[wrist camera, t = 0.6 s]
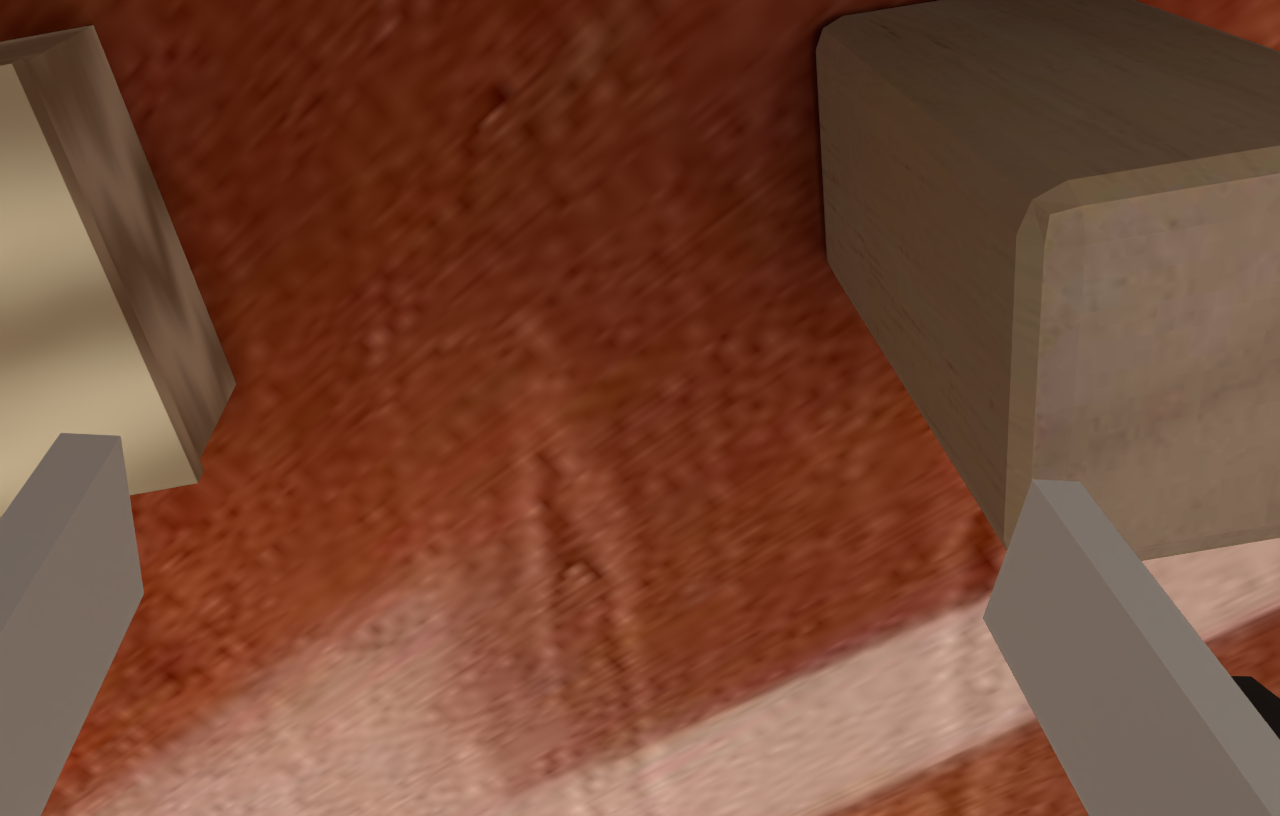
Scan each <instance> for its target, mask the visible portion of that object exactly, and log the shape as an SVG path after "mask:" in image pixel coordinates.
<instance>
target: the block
mask: <svg viewBox="0 0 1280 816" xmlns="http://www.w3.org/2000/svg"><path fill="white" fill-rule="evenodd" d="M816 65H817V83H818V102H819V120H820V139H821V157H822V176H823V194H824V213H825V231H826V250H827V262H828V263H829V265H830V267H831V269H832V271H833V273H834V275H835V276H836V278H837V280H838V281H839V283H840V284H841V286H842V288H843V289H844V291H845V292H846V294H847V296H848V297H849V299H850V300H851V302H852V304H853V305H854V307H855V308H856V310H857V312H858V313H859V315H860V316H861V318H862V320H863V321H864V323H865V324H866V326H867V328H868V329H869V331H870V332H871V334H872V335H873V337H874V339H875V340H876V342H877V343H878V345H879V347H880V348H881V350H882V351H883V353H884V355H885V356H886V358H887V359H888V361H889V363H890V364H891V366H892V367H893V369H894V371H895V372H896V374H897V375H898V377H899V379H900V380H901V382H902V383H903V385H904V387H905V388H906V390H907V391H908V393H909V395H910V396H911V398H912V399H913V401H914V403H915V404H916V406H917V407H918V409H919V411H920V412H921V414H922V415H923V417H924V419H925V420H926V422H927V423H928V425H929V427H930V428H931V430H932V431H933V433H934V435H935V436H936V438H937V439H938V441H939V443H940V444H941V446H942V447H943V449H944V451H945V452H946V454H947V455H948V457H949V458H950V460H951V462H952V463H953V465H954V466H955V468H956V470H957V471H958V473H959V474H960V476H961V478H962V479H963V481H964V482H965V484H966V486H967V487H968V489H969V490H970V492H971V494H972V495H973V497H974V498H975V500H976V502H977V503H978V505H979V506H980V508H981V510H982V511H983V513H984V514H985V516H986V518H987V519H988V521H989V522H990V524H991V526H992V527H993V529H994V530H995V532H996V534H997V535H998V537H999V538H1000V540H1001V542H1002V543H1003V545H1004V546H1005V548H1006V550H1007V549H1008V546H1009V544H1010V541H1011V538H1012V535H1013V533H1014V530H1015V527H1016V524H1017V521H1018V519H1019V516H1020V513H1021V510H1022V507H1023V505H1024V502H1025V499H1026V496H1027V493H1028V491H1029V488H1030V485H1031V482H1032V479H1035V480H1056V481H1077V482H1080V483H1081V484H1082V485H1083V487H1084V488H1085V489H1086V490H1087V492H1088V493H1089V494H1090V496H1091V497H1092V498H1093V499H1094V501H1095V502H1096V503H1097V505H1098V506H1099V507H1100V509H1101V510H1102V511H1103V512H1104V514H1105V515H1106V516H1107V518H1108V519H1109V520H1110V521H1111V523H1112V524H1113V525H1114V527H1115V528H1116V529H1117V530H1118V532H1119V533H1120V534H1121V536H1122V537H1123V538H1124V539H1125V541H1126V542H1127V543H1128V545H1129V546H1130V547H1131V548H1132V550H1133V551H1134V552H1135V554H1136V555H1137V556H1138V558H1139V559H1140V560H1141V561H1143V560H1149V559H1155V558H1161V557H1167V556H1173V555H1179V554H1185V553H1191V552H1197V551H1203V550H1209V549H1215V548H1221V547H1227V546H1233V545H1239V544H1245V543H1251V542H1257V541H1263V540H1269V539H1275V538H1280V51H1277V50H1274V49H1271V48H1268V47H1266V46H1263V45H1260V44H1257V43H1254V42H1251V41H1249V40H1246V39H1243V38H1240V37H1237V36H1234V35H1232V34H1229V33H1226V32H1223V31H1220V30H1217V29H1215V28H1212V27H1209V26H1206V25H1203V24H1200V23H1198V22H1195V21H1192V20H1189V19H1186V18H1183V17H1181V16H1178V15H1175V14H1172V13H1169V12H1166V11H1164V10H1161V9H1158V8H1155V7H1152V6H1149V5H1147V4H1144V3H1141V2H1138V1H1135V0H938V1H932V2H926V3H920V4H914V5H908V6H901V7H895V8H889V9H883V10H877V11H871V12H865V13H859V14H852V15H846V16H842V17H840V18H839V19H837V20H835V21H834V22H832V23H831V24H829V25H827V26H826V27H824V28H823V29H822V33H821V36H820V39H819V42H818V45H817V48H816Z"/></svg>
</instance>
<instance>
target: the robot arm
mask: <svg viewBox="0 0 1280 816" xmlns="http://www.w3.org/2000/svg"><path fill="white" fill-rule="evenodd" d="M143 594H144V591H143V584H142V577H141V570H140V564H139V557H138V550H137V543H136V536H135V530H134V523H133V516H132V509H131V502H130V496H129V489H128V482H127V475H126V469H125V462H124V455H123V448H122V441H121V436H115V435H94V434H73V433H60V434H59V436H58V437H57V439H56V440H55V442H54V443H53V444H52V446H51V447H50V449H49V450H48V451H47V453H46V454H45V456H44V457H43V459H42V460H41V461H40V463H39V464H38V466H37V467H36V468H35V470H34V471H33V473H32V474H31V476H30V477H29V478H28V480H27V481H26V483H25V484H24V486H23V487H22V488H21V490H20V491H19V493H18V494H17V495H16V497H15V498H14V500H13V501H12V503H11V504H10V505H9V507H8V508H7V510H6V511H5V513H4V514H3V515H2V517H1V518H0V816H41V814H42V811H43V809H44V807H45V805H46V803H47V801H48V799H49V796H50V794H51V792H52V790H53V788H54V786H55V783H56V781H57V779H58V777H59V775H60V773H61V771H62V768H63V766H64V764H65V762H66V760H67V758H68V756H69V753H70V751H71V749H72V747H73V745H74V743H75V741H76V738H77V736H78V734H79V732H80V730H81V728H82V725H83V723H84V721H85V719H86V717H87V715H88V713H89V710H90V708H91V706H92V704H93V702H94V700H95V698H96V695H97V693H98V691H99V689H100V687H101V685H102V682H103V680H104V678H105V676H106V674H107V672H108V670H109V667H110V665H111V663H112V661H113V659H114V657H115V655H116V652H117V650H118V648H119V646H120V644H121V642H122V640H123V637H124V635H125V633H126V631H127V629H128V627H129V624H130V622H131V620H132V618H133V616H134V614H135V612H136V609H137V607H138V605H139V603H140V601H141V599H142V597H143ZM983 619H984V621H985V623H986V625H987V627H988V628H989V630H990V632H991V634H992V636H993V638H994V640H995V641H996V643H997V645H998V647H999V649H1000V651H1001V653H1002V654H1003V656H1004V658H1005V660H1006V662H1007V664H1008V666H1009V668H1010V669H1011V671H1012V673H1013V675H1014V677H1015V679H1016V681H1017V682H1018V684H1019V686H1020V688H1021V690H1022V692H1023V694H1024V695H1025V697H1026V699H1027V701H1028V703H1029V705H1030V707H1031V708H1032V710H1033V712H1034V714H1035V716H1036V718H1037V720H1038V722H1039V723H1040V725H1041V727H1042V729H1043V731H1044V733H1045V735H1046V736H1047V738H1048V740H1049V742H1050V744H1051V746H1052V748H1053V749H1054V751H1055V753H1056V755H1057V757H1058V759H1059V761H1060V763H1061V764H1062V766H1063V768H1064V770H1065V772H1066V774H1067V776H1068V777H1069V779H1070V781H1071V783H1072V785H1073V787H1074V789H1075V790H1076V792H1077V794H1078V796H1079V798H1080V800H1081V802H1082V803H1083V805H1084V807H1085V809H1086V811H1087V813H1088V815H1089V816H1280V699H1279V698H1278V697H1277V696H1275V695H1274V694H1273V693H1272V692H1270V691H1269V690H1268V689H1266V688H1265V687H1264V686H1263V685H1261V684H1260V683H1259V682H1257V681H1256V680H1255V679H1254V678H1252V677H1247V676H1230V675H1229V674H1228V672H1227V671H1226V670H1225V668H1224V667H1223V666H1222V665H1221V663H1220V662H1219V661H1218V659H1217V658H1216V657H1215V656H1214V654H1213V653H1212V652H1211V650H1210V649H1209V648H1208V646H1207V645H1206V644H1205V643H1204V641H1203V640H1202V639H1201V637H1200V636H1199V635H1198V634H1197V632H1196V631H1195V630H1194V628H1193V627H1192V626H1191V625H1190V623H1189V622H1188V621H1187V619H1186V618H1185V617H1184V616H1183V614H1182V613H1181V612H1180V610H1179V609H1178V608H1177V607H1176V605H1175V604H1174V603H1173V601H1172V600H1171V599H1170V597H1169V596H1168V595H1167V594H1166V592H1165V591H1164V590H1163V588H1162V587H1161V586H1160V585H1159V583H1158V582H1157V581H1156V579H1155V578H1154V577H1153V576H1152V574H1151V573H1150V572H1149V570H1148V569H1147V568H1146V567H1145V565H1144V564H1143V563H1142V561H1141V560H1140V559H1139V558H1138V556H1137V555H1136V554H1135V552H1134V551H1133V550H1132V548H1131V547H1130V546H1129V545H1128V543H1127V542H1126V541H1125V539H1124V538H1123V537H1122V536H1121V534H1120V533H1119V532H1118V530H1117V529H1116V528H1115V527H1114V525H1113V524H1112V523H1111V521H1110V520H1109V519H1108V518H1107V516H1106V515H1105V514H1104V512H1103V511H1102V510H1101V509H1100V507H1099V506H1098V505H1097V503H1096V502H1095V501H1094V499H1093V498H1092V497H1091V496H1090V494H1089V493H1088V492H1087V490H1086V489H1085V488H1084V487H1083V485H1082V484H1081V483H1080V482H1077V481H1056V480H1035V479H1032V482H1031V485H1030V488H1029V491H1028V493H1027V496H1026V499H1025V502H1024V505H1023V507H1022V510H1021V513H1020V516H1019V519H1018V521H1017V524H1016V527H1015V530H1014V533H1013V535H1012V538H1011V541H1010V544H1009V546H1008V549H1007V552H1006V555H1005V558H1004V560H1003V563H1002V566H1001V569H1000V572H999V574H998V577H997V580H996V583H995V586H994V588H993V591H992V594H991V597H990V600H989V602H988V605H987V608H986V611H985V614H984V616H983Z"/></svg>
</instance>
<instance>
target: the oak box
mask: <svg viewBox="0 0 1280 816" xmlns="http://www.w3.org/2000/svg"><path fill="white" fill-rule="evenodd" d="M235 386H236V382H235V379H234V377H233V374H232V372H231V369H230V367H229V364H228V362H227V359H226V357H225V354H224V352H223V349H222V347H221V344H220V342H219V339H218V337H217V334H216V331H215V329H214V326H213V324H212V321H211V319H210V316H209V314H208V311H207V309H206V306H205V304H204V301H203V299H202V296H201V294H200V291H199V289H198V286H197V284H196V281H195V279H194V276H193V274H192V271H191V269H190V266H189V264H188V261H187V259H186V256H185V254H184V251H183V249H182V246H181V244H180V241H179V239H178V236H177V234H176V231H175V229H174V226H173V224H172V221H171V219H170V216H169V213H168V211H167V208H166V206H165V203H164V201H163V198H162V196H161V193H160V191H159V188H158V186H157V183H156V181H155V178H154V176H153V173H152V171H151V168H150V166H149V163H148V161H147V158H146V156H145V153H144V151H143V148H142V146H141V143H140V141H139V138H138V136H137V133H136V131H135V128H134V126H133V123H132V121H131V118H130V116H129V113H128V111H127V108H126V106H125V103H124V101H123V98H122V95H121V93H120V90H119V88H118V85H117V83H116V80H115V78H114V75H113V73H112V70H111V68H110V65H109V63H108V60H107V58H106V55H105V53H104V50H103V48H102V45H101V43H100V40H99V38H98V35H97V33H96V30H95V28H94V25H91V26H85V27H80V28H74V29H68V30H63V31H57V32H52V33H46V34H41V35H35V36H30V37H24V38H19V39H13V40H8V41H2V42H0V518H1V517H2V515H3V514H4V513H5V511H6V510H7V508H8V507H9V505H10V504H11V503H12V501H13V500H14V498H15V497H16V495H17V494H18V493H19V491H20V490H21V488H22V487H23V486H24V484H25V483H26V481H27V480H28V478H29V477H30V476H31V474H32V473H33V471H34V470H35V468H36V467H37V466H38V464H39V463H40V461H41V460H42V459H43V457H44V456H45V454H46V453H47V451H48V450H49V449H50V447H51V446H52V444H53V443H54V442H55V440H56V439H57V437H58V436H59V434H60V433H73V434H94V435H115V436H121V441H122V448H123V455H124V462H125V469H126V475H127V482H128V489H129V495H134V494H140V493H145V492H151V491H156V490H162V489H167V488H173V487H178V486H184V485H189V484H195V483H198V482H199V480H200V477H201V475H202V473H203V471H204V469H203V467H202V465H201V463H200V458H201V456H202V454H203V452H204V450H205V448H206V446H207V443H208V441H209V439H210V437H211V435H212V433H213V431H214V429H215V427H216V425H217V423H218V421H219V419H220V417H221V415H222V413H223V410H224V408H225V406H226V404H227V402H228V400H229V398H230V396H231V394H232V392H233V390H234V388H235Z"/></svg>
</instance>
